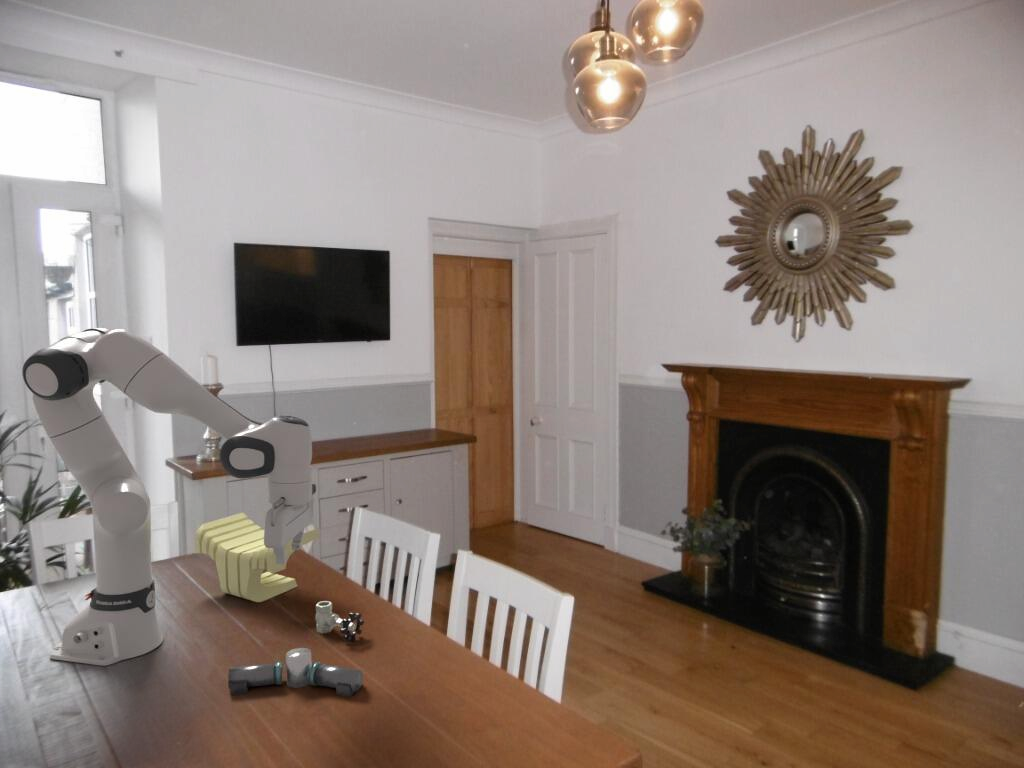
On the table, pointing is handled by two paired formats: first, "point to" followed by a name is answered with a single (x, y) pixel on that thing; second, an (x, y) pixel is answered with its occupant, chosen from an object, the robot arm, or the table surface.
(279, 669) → the grey pipe fitting
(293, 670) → the coupler
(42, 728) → the table surface
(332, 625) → the valve
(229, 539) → the slatted curved stool
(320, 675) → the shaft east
